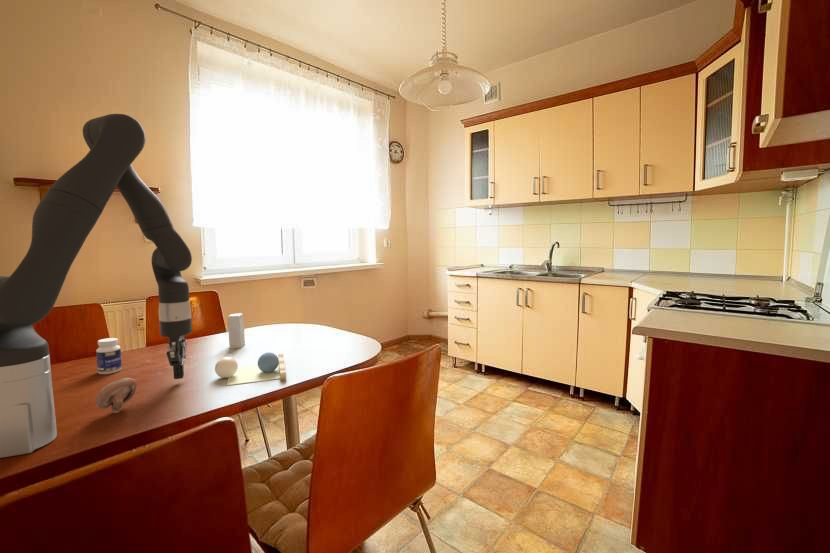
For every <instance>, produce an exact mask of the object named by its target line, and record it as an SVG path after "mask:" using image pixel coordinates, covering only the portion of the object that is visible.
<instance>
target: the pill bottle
mask: <svg viewBox="0 0 830 553" xmlns="http://www.w3.org/2000/svg"><path fill="white" fill-rule="evenodd" d="M118 343H119V339H118V338H117V337H116V338H115V337H107V338H102V339H99V340H97V345H98V348H97V349H95V350H96V369H97V370H96V371H97V373H98V374H99V375H110V374H114V373H118V372H119V371H121V370H122V367H123V365H122V351H121V350H122V349H121V346H120V345H118Z"/></svg>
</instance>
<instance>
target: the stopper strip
mask: <svg viewBox="0 0 830 553" xmlns="http://www.w3.org/2000/svg"><path fill="white" fill-rule="evenodd" d="M277 357H278V360H279V372H280V379H279V380H280V382H284V380H286V381H287V374H286V366H285V358H284V354H283V353H279V354H277Z"/></svg>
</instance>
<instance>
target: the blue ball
mask: <svg viewBox="0 0 830 553" xmlns="http://www.w3.org/2000/svg"><path fill="white" fill-rule="evenodd" d="M278 364H279V360H278V355H276V354H275V353H274V352H265V353H263V354H261V355H260V356H259V357H258V359H257V365H258V367H259V369H260V370H261V371H263V372H266V373H269V372H272V371H274V370H275V369H276V368H277V367H278Z"/></svg>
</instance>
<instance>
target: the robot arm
mask: <svg viewBox="0 0 830 553" xmlns="http://www.w3.org/2000/svg"><path fill="white" fill-rule="evenodd" d="M82 135H83V136H82V137H83V139H84V141H85V143H86V145H87V147H88V148H89V151H88V152H87V153H86V154H85V156H84V157H83V158H82V159H81V160H79V161H78V162H77V163H76V164H75V165H73V166H71V167H70V168H69V169H68V170H67V171H66V172H64V173H63V174H62V175H61V176H59V177H58V179H56V180H55V182H54V183H52V185H51V186H50V188H49V189H47V191H46V192H45V194H44V196H43V197H42V198H41V200H40V201H39V203H38V205H37V206H36V208H35V211H34V213H33V216H32V222H31V223H32V224H31V242H30V246H29V248H28V250H27V252H26V254H25V255H24V257H23V258H22V260H21V262H20V263H19V264H18V265H17V267H16V269H15V270H14V271H13V272H12V273H11V274H10V275H9V276H3V275H2V276H1V275H0V459H1V458H7V457H13V456H20V455H25V454H31V453H33V452H34V451H35V450H38V449H40V448H42V447H44V446H46V445H48V444H50V443H51V442H53V441H54V440H55V439H56V438H57V436H58V431H57V422H56V421H57V419H56V410H55V400H54V392H53V380H52V379H53V378H52V370H51V368H52V367H51V357H50V347H49V342H48V341H47V340H46V339H45V338H43V337H42V336H40V335H39V333H38V332H36V330H35V328H34V326H33V325H35V324H37V323H38V322H40V321H42V320H43V319H44V318H46V317H47V316H48V315H49V313H50V312H51V311H52V309H53V308H54V306H55V304H56V302H57V300H58V297H59V295H60V292H61V290H62V288H63V285H64V283H65V281H66V278H67V275H68V274H69V271H70V269H71V266H72V265H73V263H74V261H75V259H76V257H77V256H78V254H79V252H80V251H81V249H82V247H83V245H84V243H85V242H86V239H87V237H88V236H89V235H90V233H91V232H92V230H93V228H94V227H95V225H96V223H97V222H98V220H99V218H100V217H101V215H102V213H103V212H104V209H105V207H106V206H107V204H108V202H109V200H110V199H111V197H112V194H113V193H114V192H115V189H116V188H117V189H118V191H119V193H120V194H121V195H122V198H123V199H124V200H125V202H126V203H127V206H128V207H129V209H130V211H131V212H132V215H133V216H134V218H135V221H136V222H137V225H138V227H139V229H140V231H141V233H142V235H143V237H145V238H146V240H148V241H151V242H152V243H153V244H154V245H155V247H156V248H155V249H154V250H153V252H152V254H151V267H152V271H153V275H154V278H155V282H156V283H157V287H158V290H157V291H158V321H159V322H158V323H159V335H160V336H161V337H162V338H168V342H167V344H166V348H167V350H168V351H166V356H167V360H168V363H169V366H170V367H172V369H173V379H174V380H180V379H183V378H184V376H185V370H184V364H185V360H186V359H187V358H186V357H187V356H186V355H187V344H188V340H187V338H185V336H187V335H189V334H191V333H192V332H193V322H192V306H191V304H190V303H191V302H190V291H189V289H190V288H189V284H188V282H187V281H186V280H185V279H183V277H182V274H181V272H184V271H186V270H187V269H189V268H190V267H191V264H192V263H193V262H192V261H193V257H192V253H191V250H190V248H189V246H188V245H187V243H186V242H185V241H184V239H183V237H182V236H181V235H180V233H178V231H177V230H176V229H175V227H174V224H173V222H172V220H171V218H170V216H169V214H168V212H167V209H166V208H165V206H164V204H163V203H162V201H161V200H160V198H159V197H158V196H157V194H155V193H154V192H153V191H152V190H151V188H150V187H149V186H148V185H147V184H146V183H145V182H144V181H143V180H142V178H140V175H138V173H137V172H136V170H135V169H134V166H133V164H132V163H133V162H134V161H135V160H136V159H137V158H138V156H139V154H141V153H142V151H143V149H144V147H145V144H146V133H145V129H144V128H143V125H142V124H141V123H140V122H139V120H137V119H136V118H134V117H132V116H130V115H128V114H124V113H108V114H106V115H103V116H99V117H95V118H92V119H89V120H88V121H86V122H85V123H84V125H83V127H82Z"/></svg>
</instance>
